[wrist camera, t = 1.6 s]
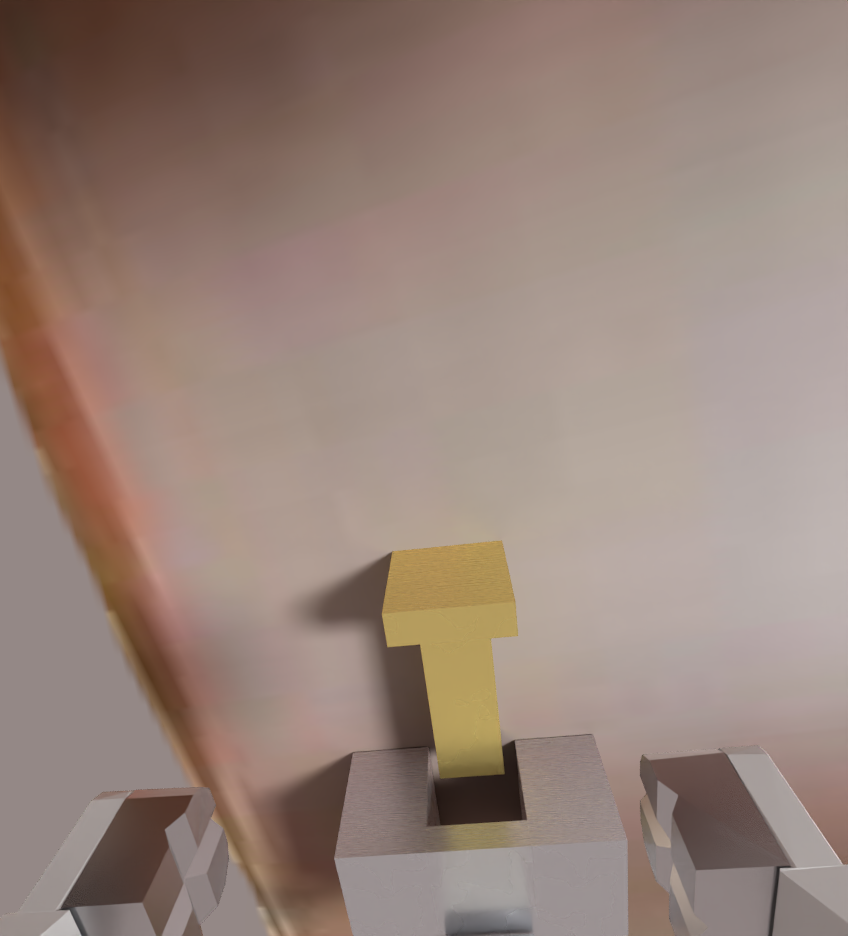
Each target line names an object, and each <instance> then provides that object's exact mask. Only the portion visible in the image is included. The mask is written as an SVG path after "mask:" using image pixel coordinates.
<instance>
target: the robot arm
mask: <svg viewBox="0 0 848 936" xmlns="http://www.w3.org/2000/svg"><path fill="white" fill-rule="evenodd" d="M640 777H641V780H642V782H643V785H644V788H645V790H646V795H645V796H644V797H643V798H642V799H641V800H640V816H641V825H642V832H643V838H644V843H645V847H646V851H647V854H648V858H649V861H650V864H651V867H652V870H653V873H654V876H655V879H656V882H658V883H659V884H660V885H661V886H662V887H663V888H664V889H665V890H666V891H667V892H668V893H669V894H670V896H669V919H670V922H671V925H672V928H673V930H674V933H675V936H848V865H843V864H842V862H841V861H840V859H839V858H838V856H837V855H836V853H835V852H834V850H833V849H832V848H831V846H830V845H829V843H828V842H827V840H826V839H825V837H824V836H823V834H822V833H821V831H820V830H819V828H818V827H817V825H816V824H815V823H814V821H813V820H812V818H811V817H810V815H809V814H808V812H807V811H806V809H805V808H804V806H803V805H802V803H801V802H800V801H799V799H798V798H797V796H796V795H795V793H794V792H793V790H792V789H791V787H790V786H789V784H788V783H787V781H786V780H785V778H784V777H783V776H782V774H781V773H780V771H779V770H778V768H777V767H776V765H775V764H774V762H773V761H772V759H771V758H770V756H769V755H768V754H767V752H766V751H765V750H764V749H762V748H761V747H760V746H758V745H754V746H741V747H729V748H719V749H715V748H712V749H700V750H688V751H676V752H665V753H653V754H643V755H642V758H641V761H640ZM215 806H216V804H215V802H214V799H213V796H212V794H211V791H210V789H209V788H204V787H191V788H168V789H147V790H134V791H115V792H102V793H101V794H100V795H98V796H97V797H96V798H94V799H93V800H92V801H91V802H90V803H89V805H88V806H87V808H86V809H85V811H84V813H83V814H82V815H81V817H80V818H79V820H78V821H77V823H76V824H75V826H74V827H73V829H72V830H71V832H70V833H69V835H68V836H67V838H66V840H65V841H64V843H63V844H62V846H61V847H60V849H59V850H58V852H57V853H56V855H55V856H54V858H53V859H52V861H51V862H50V864H49V865H48V867H47V868H46V870H45V871H44V873H43V874H42V876H41V877H40V879H39V881H38V882H37V883H36V885H35V886H34V888H33V890H32V891H31V892H30V894H29V895H28V897H27V899H26V900H25V902H24V903H23V905H22V906H21V908H20V909H19V911H18V912H17V913H7V914H5V915H4V916H2V917H1V918H0V936H203V934H202V930H201V926H200V925H201V923H203V921H205V919H206V918H207V917H208V916H209V915H210V914H211V913H212V912H213V911H214V910H215V909H216V908H217V906H218V904H219V901H220V898H221V895H222V892H223V889H224V886H225V882H226V875H227V867H228V861H229V855H228V842H227V839H226V835H225V832H224V829H223V828H222V827H221V826H219V825H218V824H217V823H216V822H214V821H213V820H212V819H211V816H212V814H213V811H214V809H215Z"/></svg>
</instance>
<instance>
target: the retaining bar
mask: <svg viewBox="0 0 848 936" xmlns="http://www.w3.org/2000/svg"><path fill="white" fill-rule="evenodd" d="M497 936H534V934H516V935H497Z"/></svg>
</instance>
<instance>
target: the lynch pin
mask: <svg viewBox="0 0 848 936" xmlns="http://www.w3.org/2000/svg"><path fill="white" fill-rule="evenodd" d="M382 618H383V624H384V630H385V636H386V641H387V647H396V646H407V645H419V644H420V647H421V654H422V661H423V667H424V674H425V680H426V687H427V694H428V700H429V707H430V714H431V720H432V727H433V733H434V740H435V747H436V753H437V760H438V766H439V773H440V779H441V778H456V777H470V776H484V775H498V774H505V773H504V763H503V754H502V744H501V734H500V724H499V714H498V705H497V695H496V685H495V675H494V665H493V656H492V646H491V638H500V637H511V636H518V629H517V616H516V604H515V598H514V594H513V589H512V584H511V580H510V575H509V571H508V566H507V561H506V557H505V552H504V548H503V543H502V541H493V542H483V543H473V544H463V545H453V546H443V547H433V548H422V549H412V550H402V551H392V557H391V563H390V569H389V575H388V580H387V586H386V592H385V598H384V604H383V609H382Z"/></svg>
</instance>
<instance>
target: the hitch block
mask: <svg viewBox="0 0 848 936" xmlns="http://www.w3.org/2000/svg"><path fill="white" fill-rule="evenodd" d="M515 748H516V759H517V770H518V781H519V792H520V803H521V814H522V820H521V821H506V822H491V823H476V824H461V825H446V826H441V824H440V818H439V811H438V805H437V799H436V792H435V786H434V780H433V773H432V767H431V760H430V754H429V748H428V747H422V748H408V749H395V750H382V751H369V752H356V753H353V756H352V761H351V767H350V773H349V778H348V784H347V789H346V795H345V801H344V806H343V812H342V817H341V823H340V829H339V834H338V840H337V845H336V851H335V856H334V860H335V864H336V868H337V872H338V876H339V880H340V884H341V888H342V892H343V896H344V901H345V905H346V909H347V913H348V917H349V921H350V925H351V929H352V933H353V936H497V935H516V934H534V936H628V858H627V837H626V834H625V831H624V828H623V825H622V822H621V819H620V816H619V813H618V810H617V807H616V804H615V800H614V797H613V794H612V791H611V788H610V785H609V782H608V779H607V776H606V773H605V770H604V767H603V764H602V760H601V757H600V754H599V751H598V748H597V745H596V742H595V739H594V736H593V735H580V736H567V737H554V738H540V739H527V740H515Z"/></svg>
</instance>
